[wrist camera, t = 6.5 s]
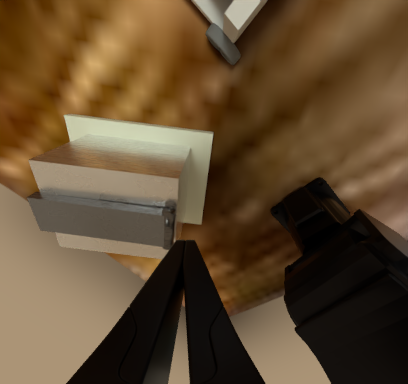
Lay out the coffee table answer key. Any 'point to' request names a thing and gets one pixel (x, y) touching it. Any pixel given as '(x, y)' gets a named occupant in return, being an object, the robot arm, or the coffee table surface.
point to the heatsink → (117, 182)
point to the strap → (104, 219)
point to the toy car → (228, 22)
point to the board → (158, 134)
